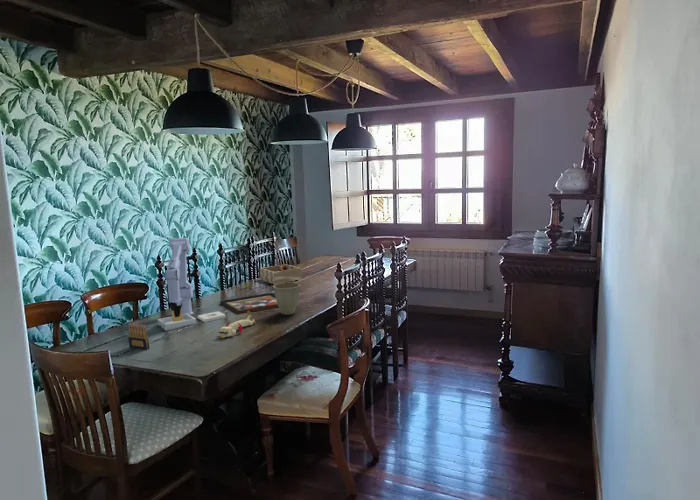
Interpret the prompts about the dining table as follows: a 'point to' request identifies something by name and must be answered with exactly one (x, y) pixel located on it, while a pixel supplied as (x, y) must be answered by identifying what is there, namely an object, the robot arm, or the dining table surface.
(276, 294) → the plant pot
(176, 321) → the block
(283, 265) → the bear figurine
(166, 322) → the parts tray
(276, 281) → the display box
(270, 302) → the framed painting
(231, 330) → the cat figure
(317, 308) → the dining table surface
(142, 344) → the ammunition clip
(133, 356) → the dining table surface
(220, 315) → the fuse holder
